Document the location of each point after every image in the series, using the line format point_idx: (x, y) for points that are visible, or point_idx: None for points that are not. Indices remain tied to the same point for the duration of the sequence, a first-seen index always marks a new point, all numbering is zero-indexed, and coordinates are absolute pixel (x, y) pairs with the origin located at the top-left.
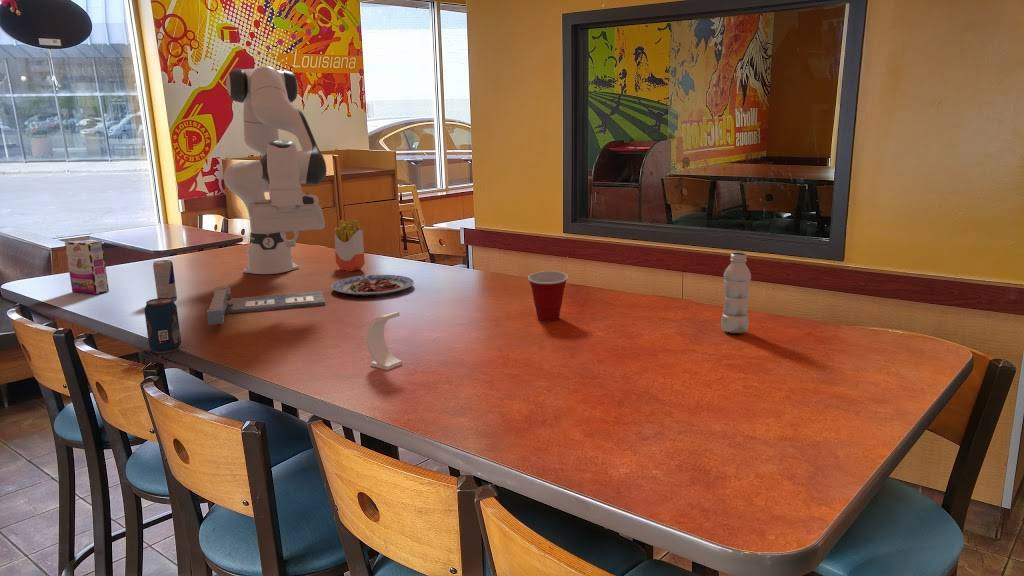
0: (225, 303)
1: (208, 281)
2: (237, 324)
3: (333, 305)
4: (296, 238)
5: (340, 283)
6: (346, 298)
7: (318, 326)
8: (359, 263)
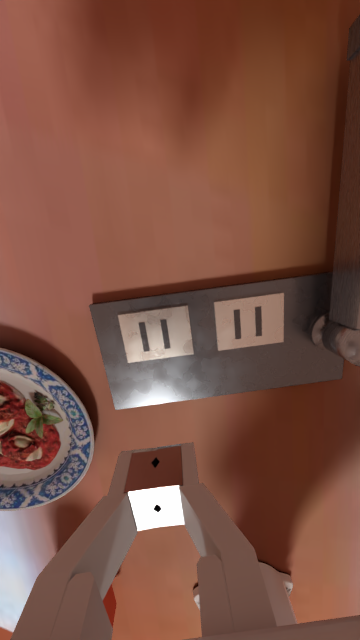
0: (350, 223)
1: (350, 531)
2: (293, 154)
3: (70, 297)
4: (86, 519)
5: (77, 454)
6: (51, 358)
7: (68, 58)
8: None
